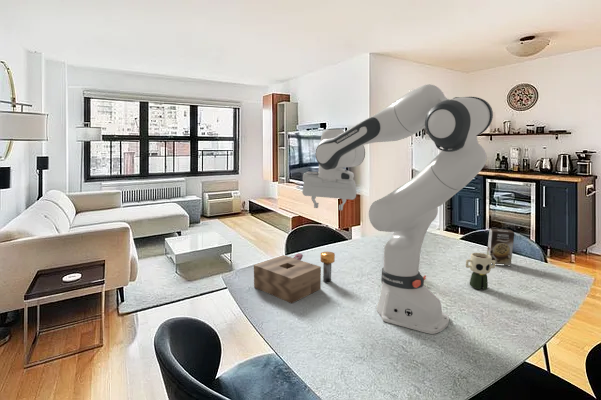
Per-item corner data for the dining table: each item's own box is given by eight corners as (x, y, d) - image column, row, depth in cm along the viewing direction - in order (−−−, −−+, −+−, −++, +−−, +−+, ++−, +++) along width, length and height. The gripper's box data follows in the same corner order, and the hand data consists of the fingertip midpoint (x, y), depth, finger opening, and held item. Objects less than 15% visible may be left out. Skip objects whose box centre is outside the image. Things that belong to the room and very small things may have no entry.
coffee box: (488, 264, 157) (492, 230, 155) (485, 260, 164) (488, 227, 161) (511, 267, 155) (515, 232, 152) (507, 262, 161) (510, 229, 158)
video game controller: (294, 273, 150) (301, 260, 148) (285, 268, 150) (292, 255, 149) (299, 265, 159) (305, 253, 158) (290, 261, 160) (297, 248, 158)
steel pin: (336, 280, 138) (337, 253, 136) (328, 285, 134) (328, 257, 132) (325, 277, 142) (326, 250, 140) (317, 281, 138) (317, 253, 136)
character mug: (467, 290, 129) (470, 258, 127) (460, 283, 136) (462, 252, 134) (497, 291, 128) (500, 258, 126) (488, 284, 135) (491, 252, 133)
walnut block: (320, 289, 130) (320, 266, 128) (291, 303, 118) (291, 278, 117) (283, 275, 143) (283, 255, 142) (254, 287, 131) (253, 264, 130)
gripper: (301, 172, 126) (299, 208, 129) (357, 175, 122) (354, 213, 125) (304, 170, 132) (303, 204, 135) (357, 173, 128) (355, 209, 131)
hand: (328, 208), depth 130 cm, fingers open, 8 cm apart
